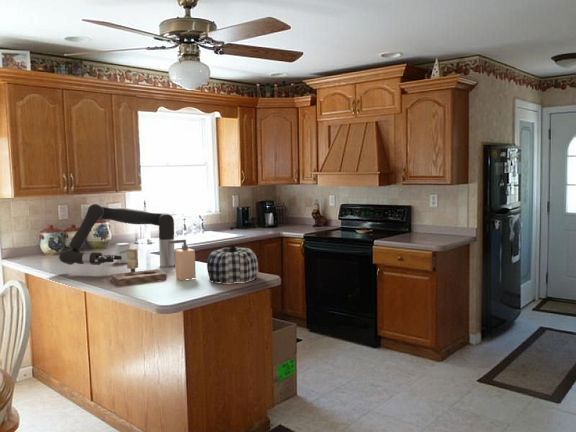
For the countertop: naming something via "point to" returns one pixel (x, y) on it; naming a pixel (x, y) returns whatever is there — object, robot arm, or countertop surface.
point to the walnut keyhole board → (138, 277)
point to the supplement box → (122, 251)
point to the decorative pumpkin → (232, 265)
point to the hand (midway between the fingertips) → (117, 259)
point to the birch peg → (132, 259)
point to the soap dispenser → (184, 261)
